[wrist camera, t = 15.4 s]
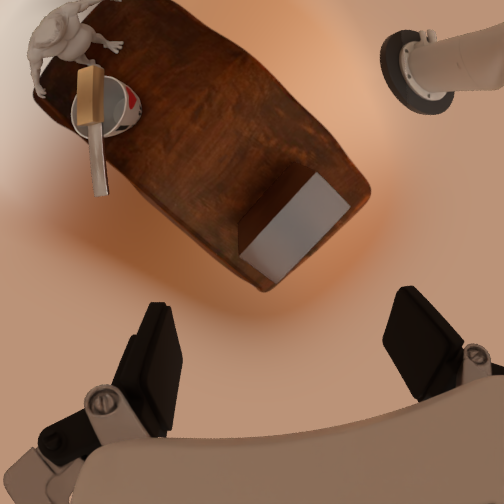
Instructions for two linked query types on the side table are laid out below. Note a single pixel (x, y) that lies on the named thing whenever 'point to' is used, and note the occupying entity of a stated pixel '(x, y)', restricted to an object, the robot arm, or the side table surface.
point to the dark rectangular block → (288, 221)
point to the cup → (114, 109)
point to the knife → (93, 123)
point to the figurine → (64, 39)
